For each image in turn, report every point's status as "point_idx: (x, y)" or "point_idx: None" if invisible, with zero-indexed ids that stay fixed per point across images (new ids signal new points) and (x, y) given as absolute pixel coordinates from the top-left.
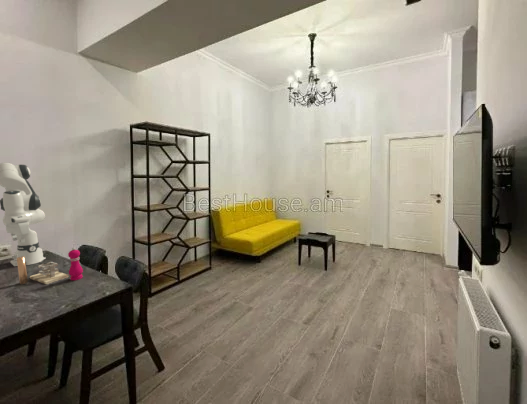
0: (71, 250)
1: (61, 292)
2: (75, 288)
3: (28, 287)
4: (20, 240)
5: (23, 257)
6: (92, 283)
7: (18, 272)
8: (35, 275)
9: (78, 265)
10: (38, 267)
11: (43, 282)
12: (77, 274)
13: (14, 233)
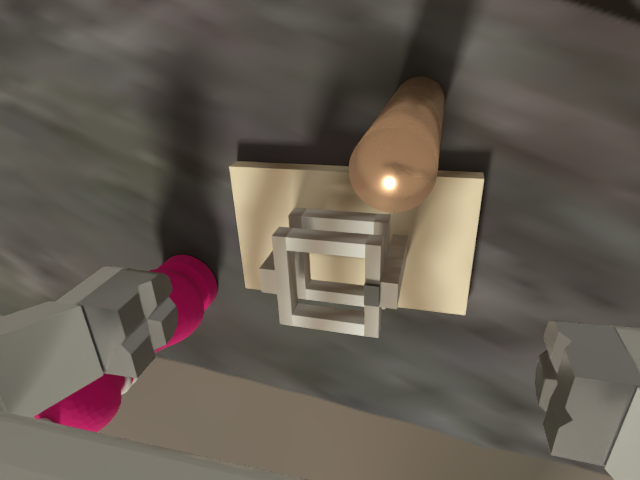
0: (59, 415)
1: (40, 133)
2: (48, 194)
3: (281, 76)
4: (95, 287)
5: (353, 185)
6: (58, 263)
7: (417, 92)
8: (451, 205)
9: None
10: (377, 236)
11: (271, 164)
12: None
13: (134, 473)
